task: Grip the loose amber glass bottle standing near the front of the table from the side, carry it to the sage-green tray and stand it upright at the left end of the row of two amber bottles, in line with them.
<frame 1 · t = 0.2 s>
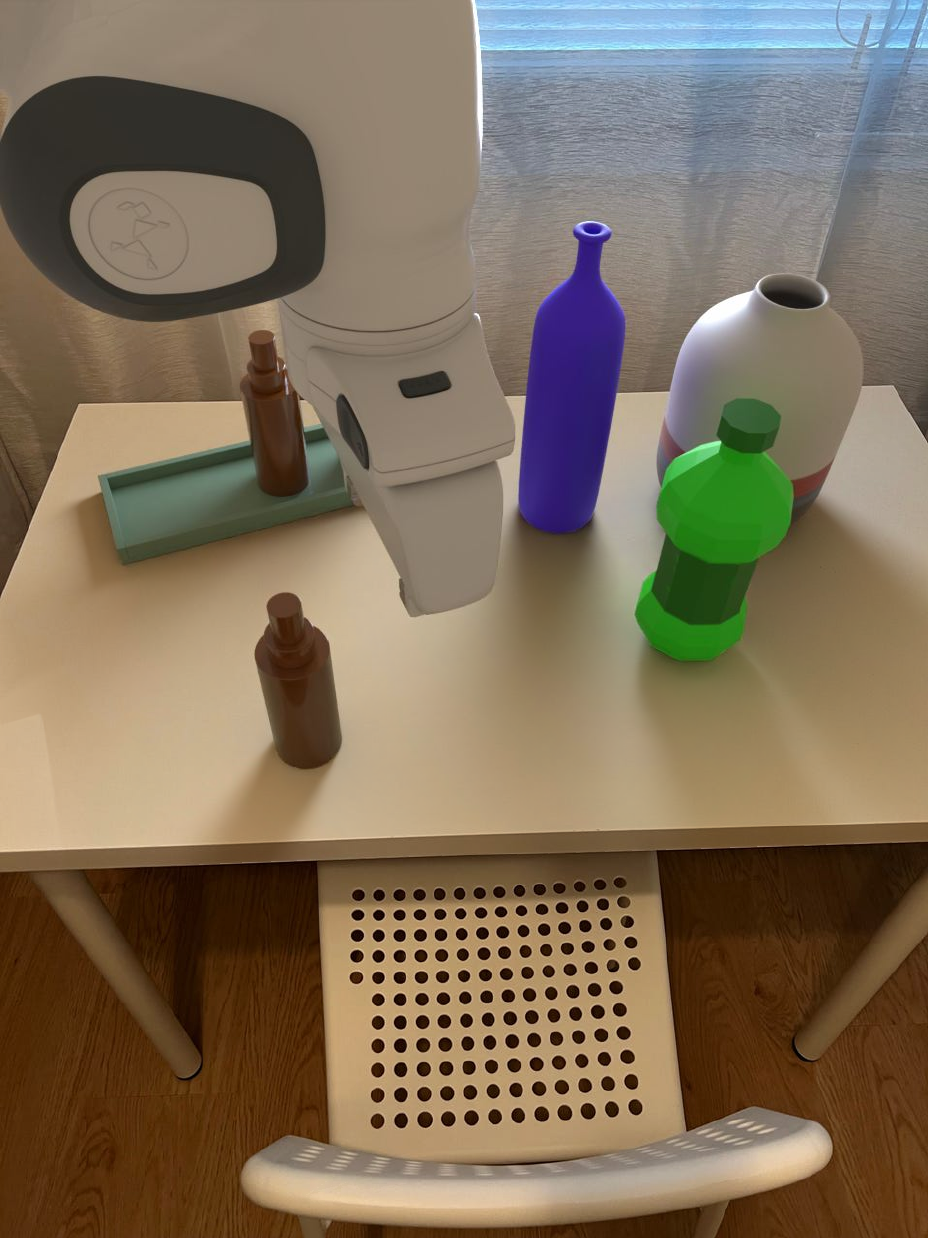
hand: (389, 548, 54), 28 cm above the table, tool pointing down, fingers open, 8 cm apart
row bottle 1: (284, 479, 99), resting on tray
tray: (266, 488, 98), on the table
vase: (728, 497, 100), on the table
amber bottle: (308, 741, 78), on the table
row bottle 2: (369, 458, 101), resting on tray
bottle: (555, 510, 98), on the table
plastic bottle: (681, 639, 86), on the table
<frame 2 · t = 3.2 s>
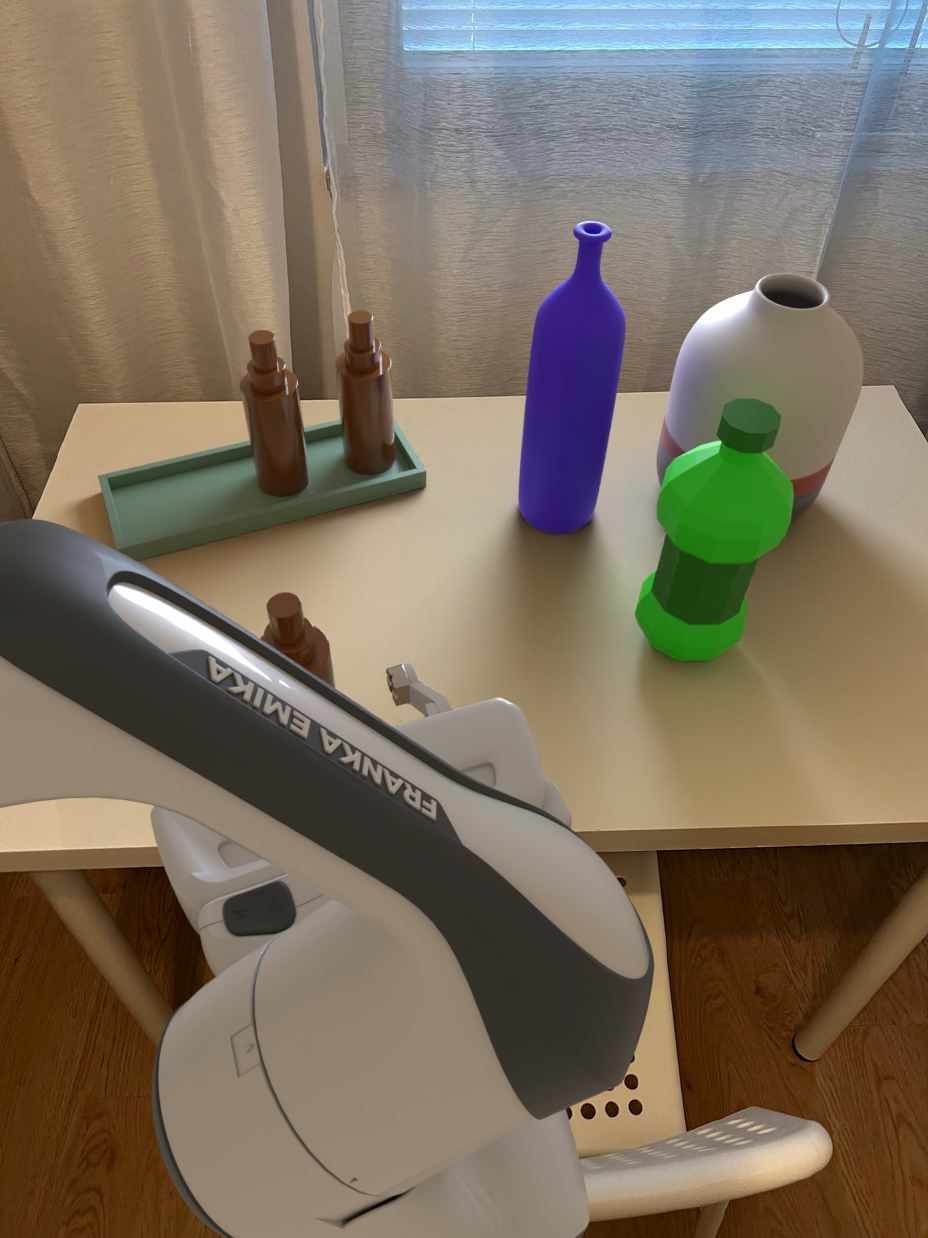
hand: (319, 692, 54), 22 cm above the table, tool horizontal, fingers open, 8 cm apart
nothing on the table moved.
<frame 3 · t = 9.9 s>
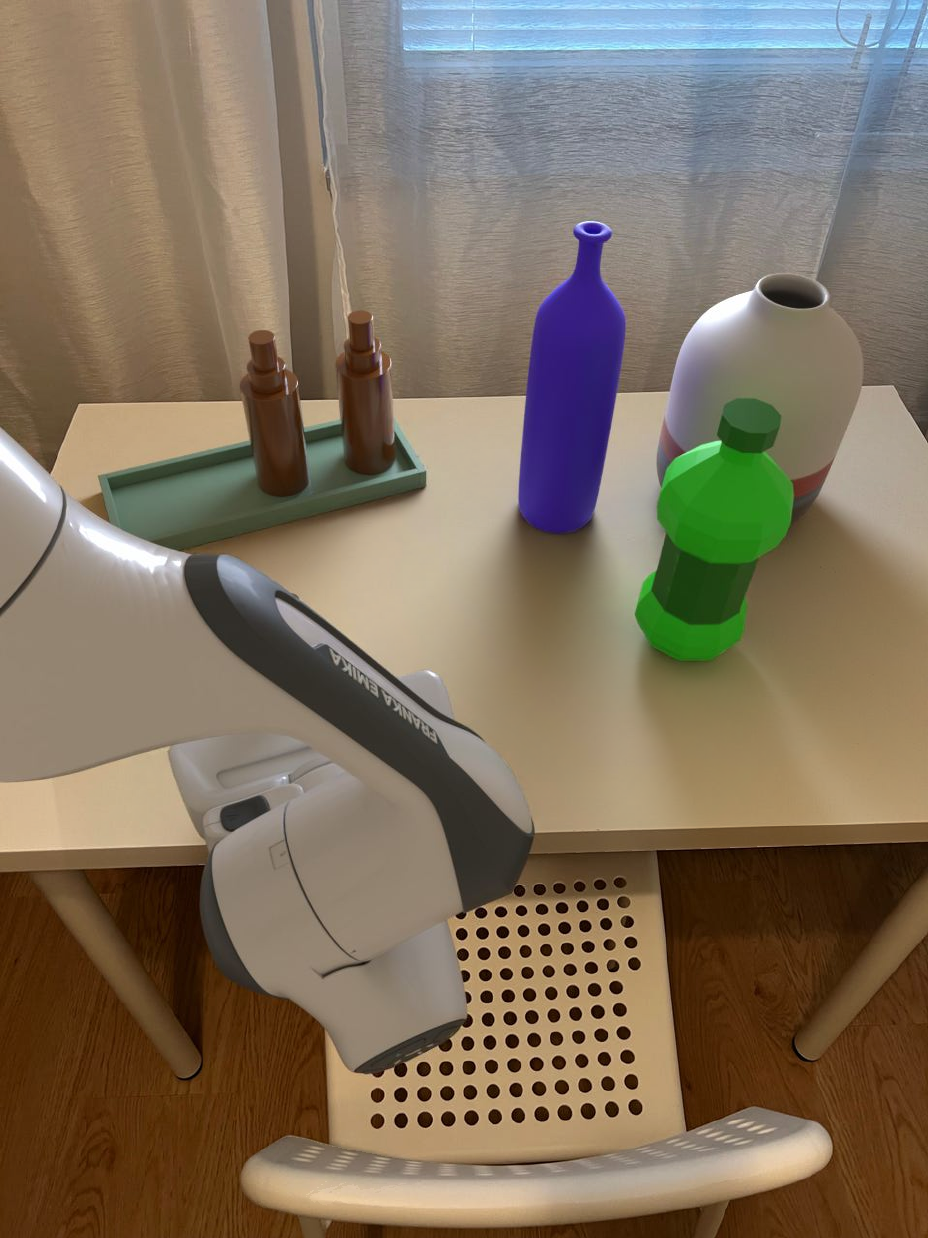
hand: (293, 666, 72), 9 cm above the table, tool horizontal, fingers closed on amber bottle, 5 cm apart
amber bottle: (308, 741, 78), on the table, touching gripper
everything else where it was.
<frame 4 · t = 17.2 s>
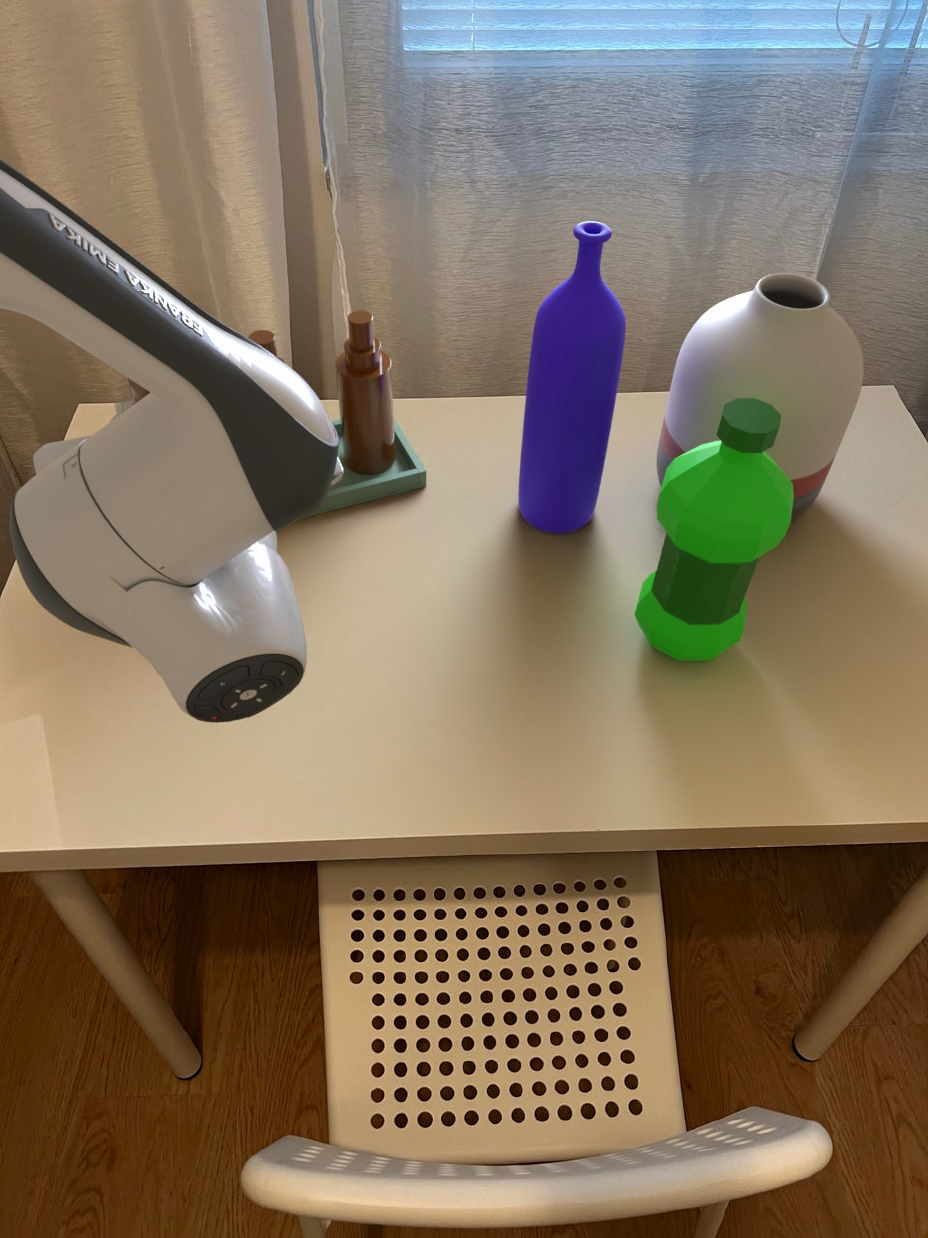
hand: (172, 400, 72), 22 cm above the table, tool horizontal, fingers closed on amber bottle, 5 cm apart
amber bottle: (196, 496, 78), point 13 cm above the table, touching gripper
everything else where it was.
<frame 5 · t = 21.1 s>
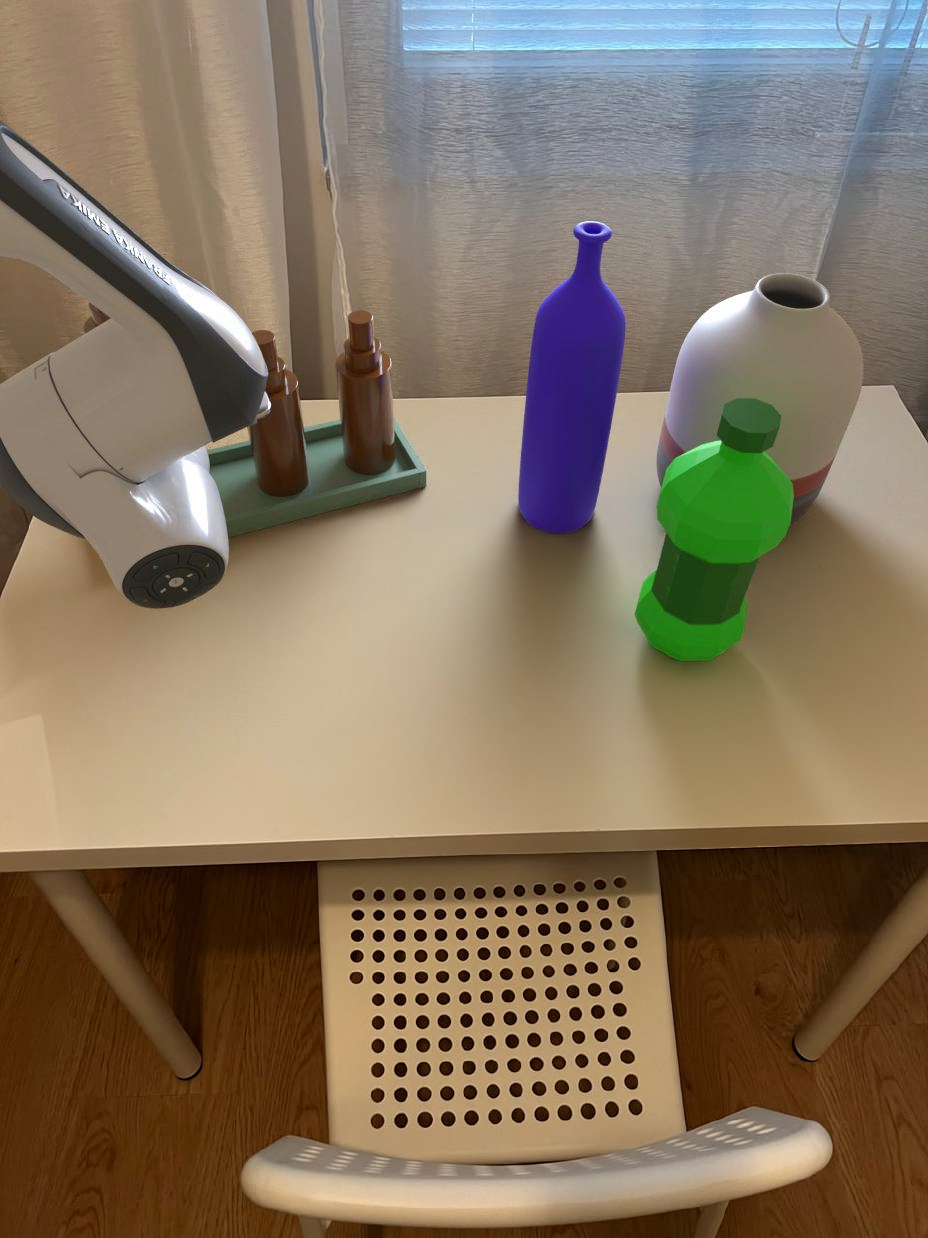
hand: (124, 348, 82), 19 cm above the table, tool horizontal, fingers closed on amber bottle, 5 cm apart
amber bottle: (150, 437, 88), point 10 cm above the table, touching gripper
everything else where it was.
when the fingers open (10 cm above the table, at t = 24.7 s): amber bottle stays where it is, resting on tray.
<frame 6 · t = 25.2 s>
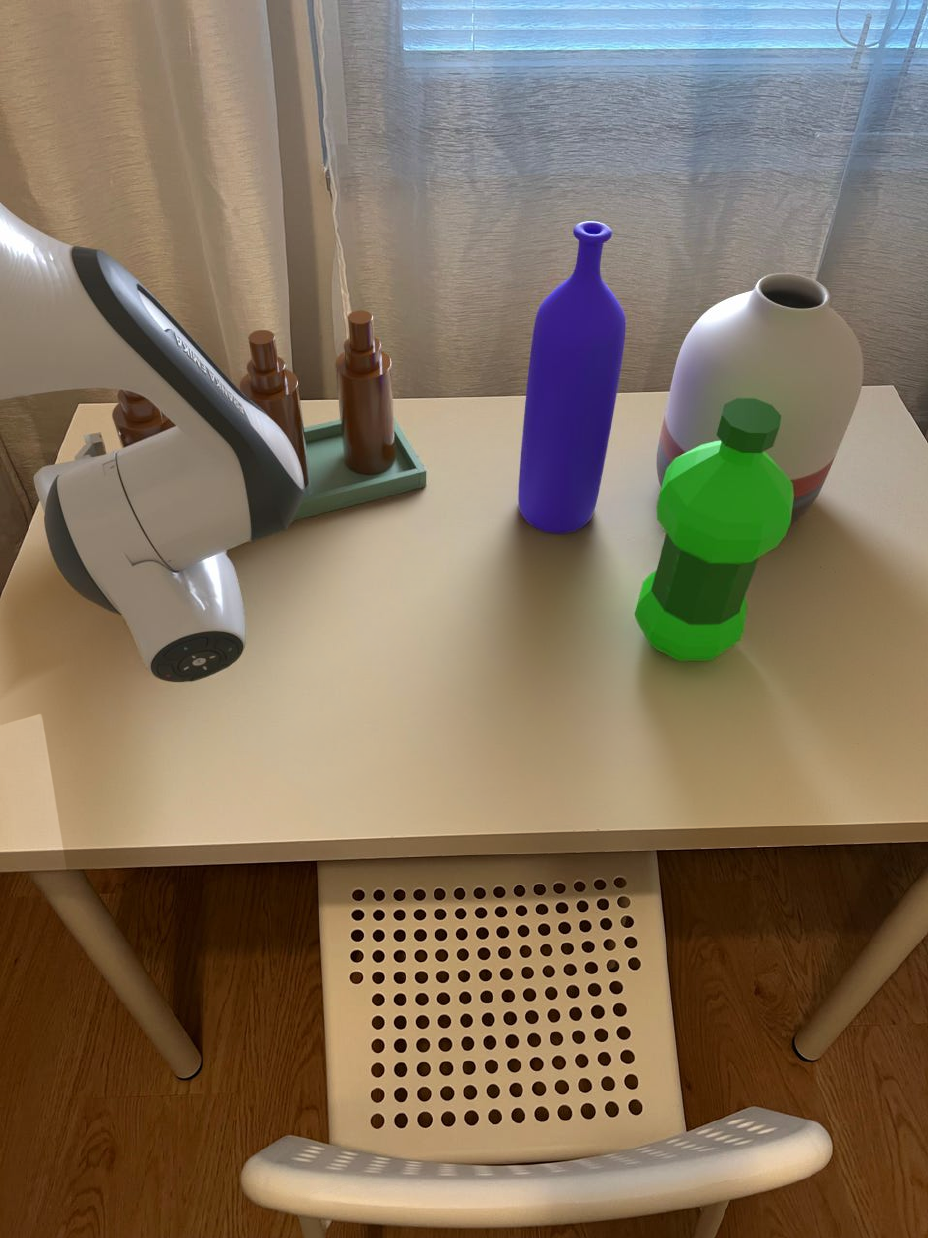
hand: (146, 429, 89), 10 cm above the table, tool horizontal, fingers open, 8 cm apart
amber bottle: (170, 507, 95), point 1 cm above the table, touching tray
everything else where it was.
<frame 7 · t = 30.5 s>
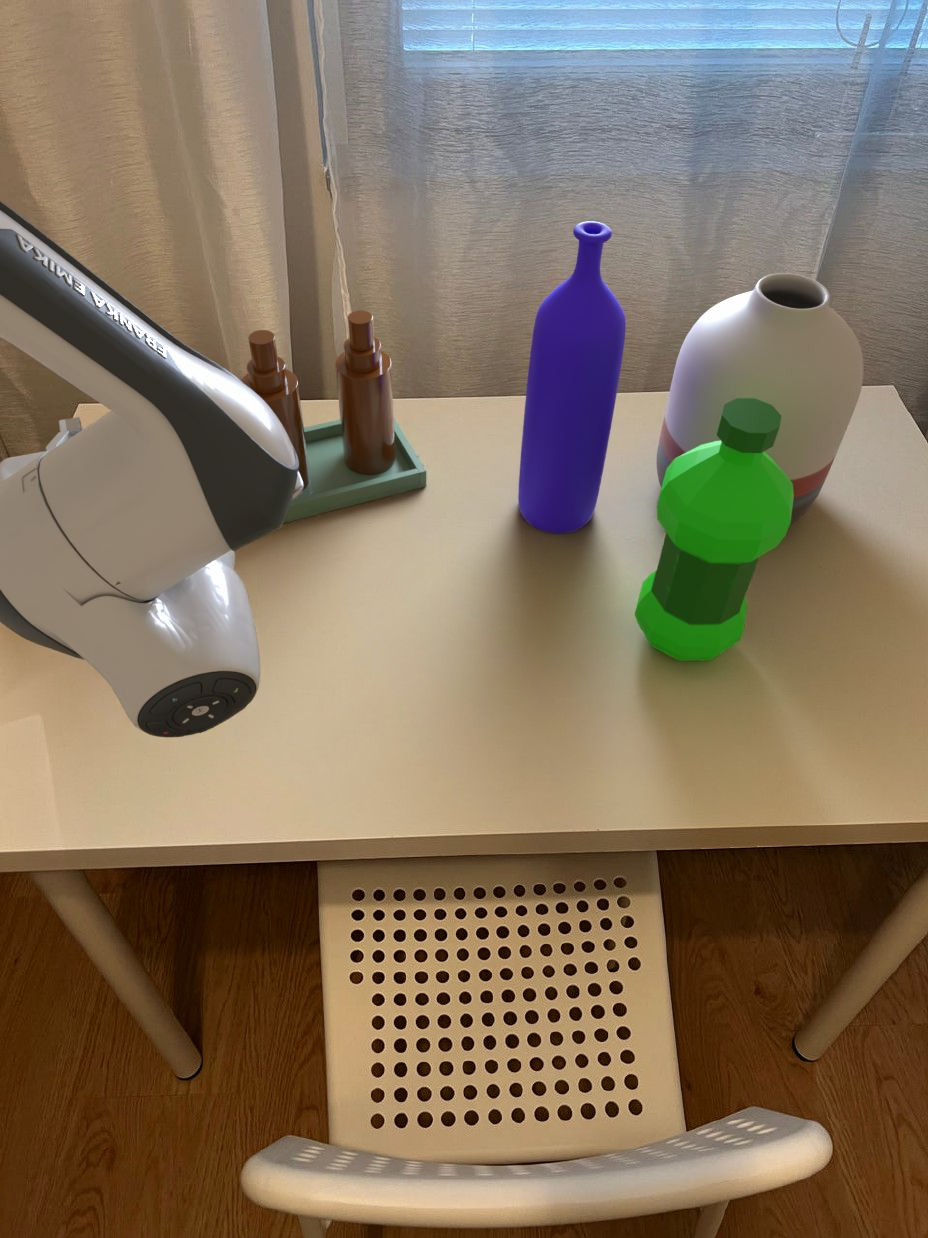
hand: (135, 414, 73), 21 cm above the table, tool horizontal, fingers open, 8 cm apart
nothing on the table moved.
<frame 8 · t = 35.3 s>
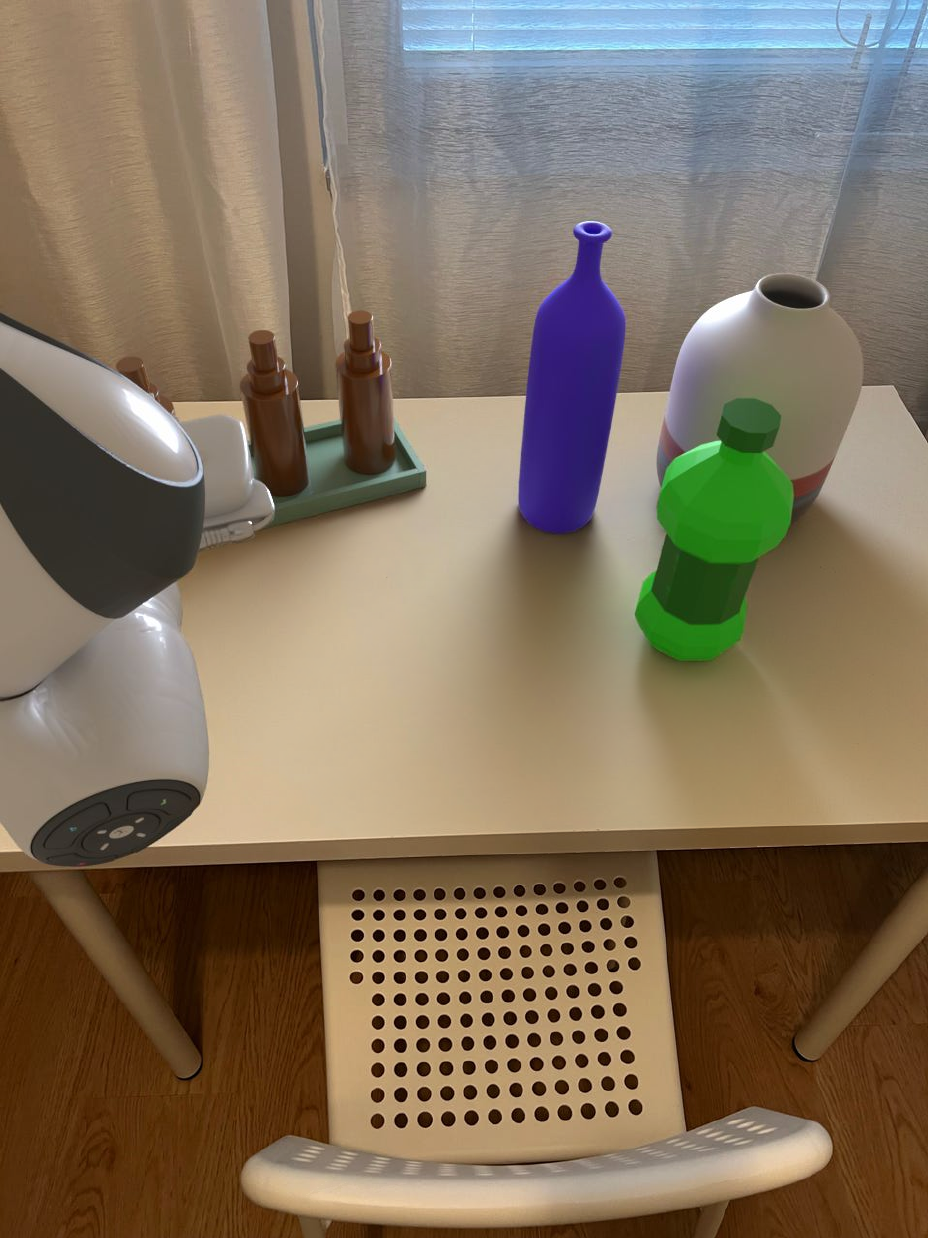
hand: (65, 418, 57), 30 cm above the table, tool horizontal, fingers open, 8 cm apart
nothing on the table moved.
at the end: amber bottle 0.1 cm from the target spot in the tray, point 0.6 cm above the tray's base; amber bottle tilted 0°; the gripper is holding nothing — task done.
